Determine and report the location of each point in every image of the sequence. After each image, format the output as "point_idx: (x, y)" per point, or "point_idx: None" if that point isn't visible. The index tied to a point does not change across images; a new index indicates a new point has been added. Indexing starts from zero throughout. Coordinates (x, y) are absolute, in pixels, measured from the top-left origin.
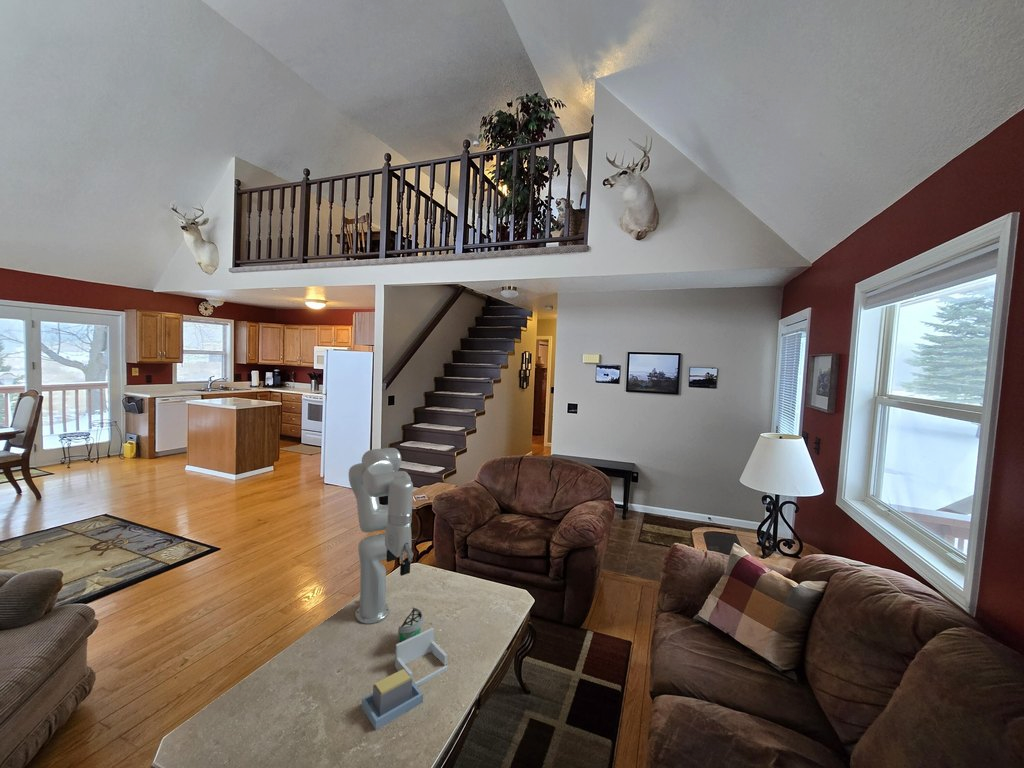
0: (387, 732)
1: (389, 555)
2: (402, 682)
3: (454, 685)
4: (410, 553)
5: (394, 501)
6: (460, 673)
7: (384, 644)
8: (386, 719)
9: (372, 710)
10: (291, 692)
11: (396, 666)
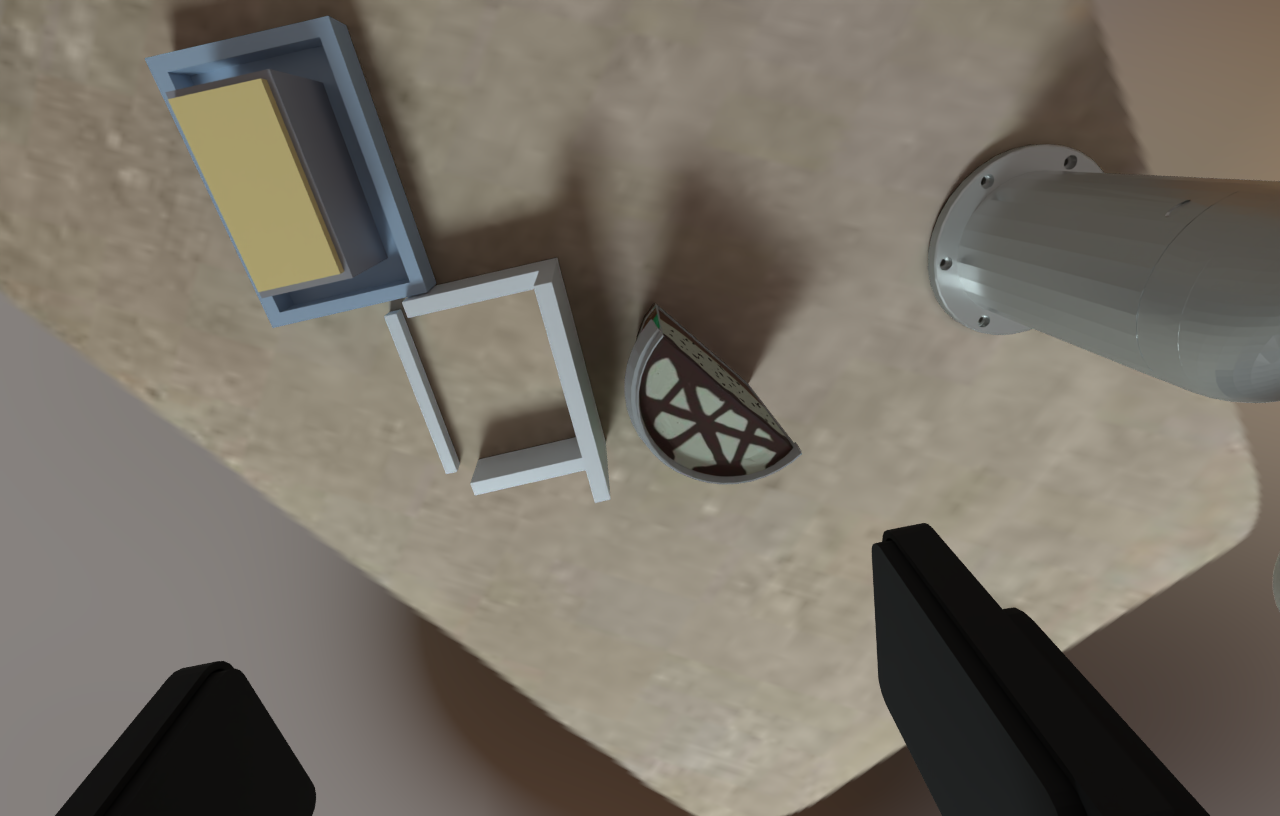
0: (149, 117)
1: (954, 701)
2: (236, 240)
3: (350, 462)
4: None
5: None
6: (410, 503)
7: (742, 246)
8: None
9: (226, 56)
10: None
11: (544, 262)
